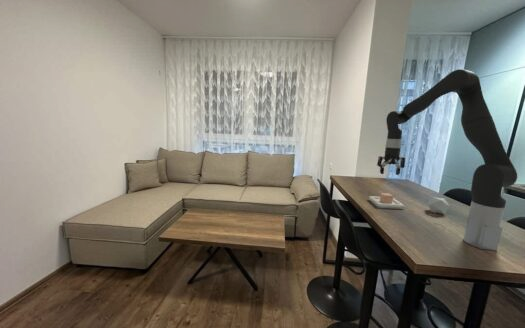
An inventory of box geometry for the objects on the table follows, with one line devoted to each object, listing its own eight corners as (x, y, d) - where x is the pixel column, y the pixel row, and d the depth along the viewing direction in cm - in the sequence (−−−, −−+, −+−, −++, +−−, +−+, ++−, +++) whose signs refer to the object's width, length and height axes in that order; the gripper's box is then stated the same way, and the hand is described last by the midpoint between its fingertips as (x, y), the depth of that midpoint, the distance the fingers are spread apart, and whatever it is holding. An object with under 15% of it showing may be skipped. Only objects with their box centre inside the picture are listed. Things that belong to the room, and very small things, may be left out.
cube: (392, 204, 129) (393, 196, 128) (383, 203, 130) (384, 195, 129) (388, 201, 134) (389, 193, 133) (379, 200, 135) (380, 192, 134)
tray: (403, 209, 125) (404, 205, 124) (378, 207, 126) (378, 203, 125) (391, 201, 138) (392, 197, 138) (369, 199, 140) (369, 196, 139)
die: (444, 212, 124) (434, 195, 127) (456, 210, 116) (445, 192, 119) (431, 217, 124) (420, 201, 127) (442, 215, 115) (431, 198, 119)
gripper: (383, 146, 123) (379, 175, 126) (409, 147, 122) (405, 176, 124) (377, 145, 130) (374, 172, 133) (402, 146, 129) (398, 173, 132)
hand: (389, 174), depth 129 cm, fingers open, 8 cm apart
